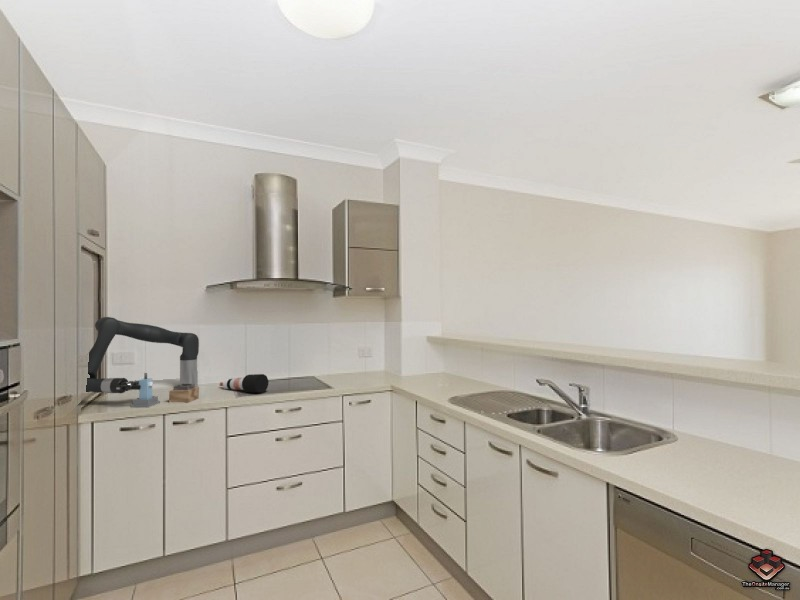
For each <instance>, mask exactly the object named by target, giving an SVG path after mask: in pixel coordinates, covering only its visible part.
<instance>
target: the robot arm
mask: <svg viewBox="0 0 800 600" xmlns="http://www.w3.org/2000/svg"><path fill="white" fill-rule="evenodd" d="M94 327H95V330H97V333H98V334H97V337H96V340H95V342H94V343H93V346H92V347H91V349H90V350H89V352H88V353H89V362H88V374H89V375H90V378H87V385H86V392H88V393H98V394H99V393H100V394H101V393H103V394H104V393H106V394H124V393H126V392H129V391H132V390H133V391H139V390H140V389H141V386H140V385H139V380H128V379H127V378H126V377H108V378H100V377H99V378H98V372H99V369H100V367H101V365H102V363H103V359H104V357H105V355H106V352H107V350H108V348H109V347H110V344H111V343H112V341H113V340H114V338H115V337H116V335H118V336H124V337H128V338H131V339H135V340H138V341H142V342H148V343H156V344H170V345H174V346H177V347H181V348H182V352H181V354H180V356H179V384H195V387H199V386H198V383H199V382H198V381H199V379H198V377H199V376H198V372H199V371H198V356H199V351H200V349H199V347H200V339H199V337H198V335H197V334H195V333H193V332H180V331H179V332H178V331H173V330H172V331H171V330H168V329H166V328H163V327H160V326H156V325H150V324H144V323H137V322H135V323H134V322H127V321H122V320H119V319H117V318H115V317H111V316H104V317H101V318H98V319H97V321H96V322H95V324H94Z"/></svg>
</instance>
